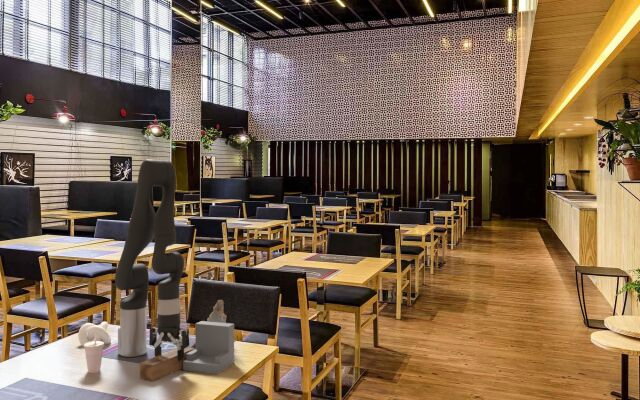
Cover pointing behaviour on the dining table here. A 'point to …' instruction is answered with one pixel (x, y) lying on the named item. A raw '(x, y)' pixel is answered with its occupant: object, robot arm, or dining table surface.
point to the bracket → (211, 348)
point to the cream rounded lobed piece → (89, 337)
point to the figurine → (218, 313)
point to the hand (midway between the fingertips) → (169, 359)
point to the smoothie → (94, 354)
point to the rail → (162, 365)
